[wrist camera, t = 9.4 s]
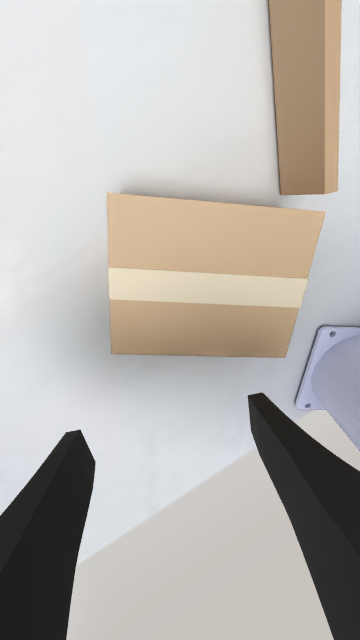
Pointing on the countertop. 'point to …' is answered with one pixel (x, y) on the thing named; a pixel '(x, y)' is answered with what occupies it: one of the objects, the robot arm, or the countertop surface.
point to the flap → (307, 93)
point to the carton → (206, 275)
